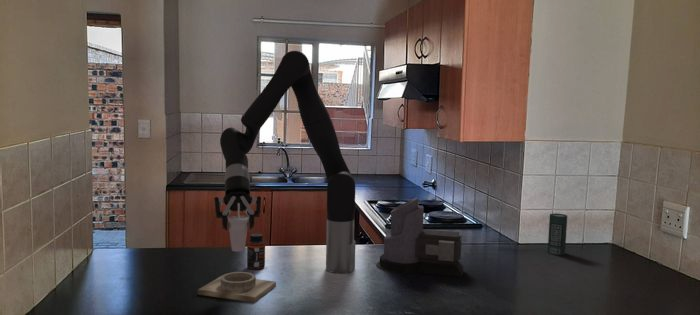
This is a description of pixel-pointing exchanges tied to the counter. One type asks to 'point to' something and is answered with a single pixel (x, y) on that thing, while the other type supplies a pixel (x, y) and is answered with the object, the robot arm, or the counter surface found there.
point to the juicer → (419, 245)
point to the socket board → (239, 294)
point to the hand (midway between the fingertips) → (238, 228)
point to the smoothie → (238, 231)
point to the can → (557, 234)
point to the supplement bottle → (256, 252)
